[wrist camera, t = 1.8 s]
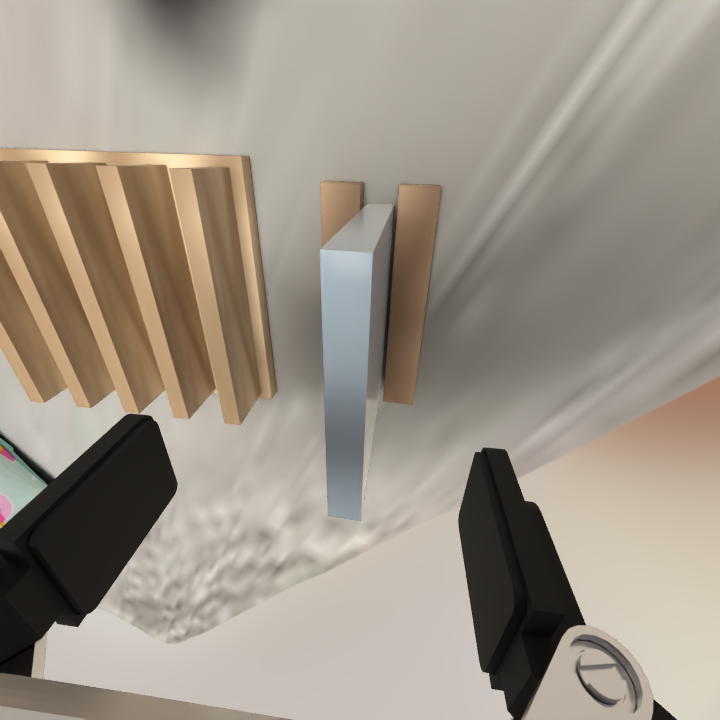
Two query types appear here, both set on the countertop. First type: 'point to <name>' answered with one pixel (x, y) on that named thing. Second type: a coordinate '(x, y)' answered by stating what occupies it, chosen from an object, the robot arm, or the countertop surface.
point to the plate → (353, 350)
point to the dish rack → (133, 279)
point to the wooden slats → (396, 271)
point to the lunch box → (15, 483)
